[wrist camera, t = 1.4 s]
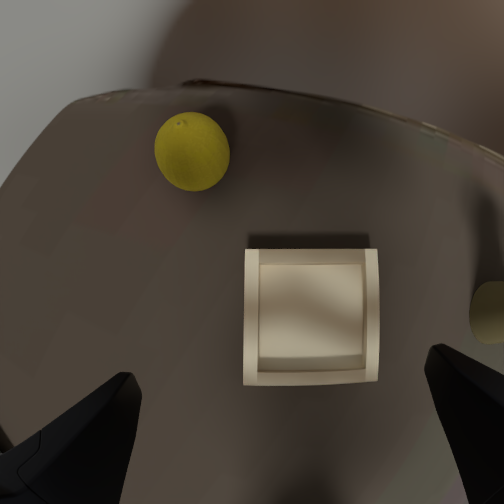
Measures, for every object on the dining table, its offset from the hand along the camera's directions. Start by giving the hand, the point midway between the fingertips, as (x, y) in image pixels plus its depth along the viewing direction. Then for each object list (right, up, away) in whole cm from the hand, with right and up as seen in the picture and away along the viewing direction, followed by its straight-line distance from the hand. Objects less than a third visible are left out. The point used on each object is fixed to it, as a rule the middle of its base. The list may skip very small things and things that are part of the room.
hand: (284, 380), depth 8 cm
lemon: (-5, +10, +18) cm, 21 cm away
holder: (+4, -1, +15) cm, 15 cm away
